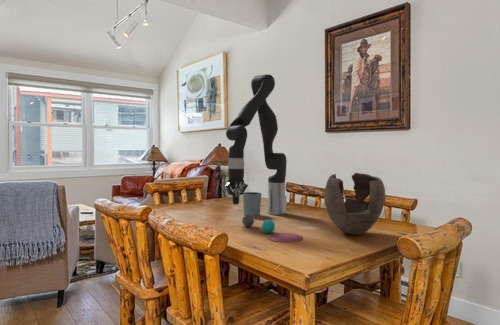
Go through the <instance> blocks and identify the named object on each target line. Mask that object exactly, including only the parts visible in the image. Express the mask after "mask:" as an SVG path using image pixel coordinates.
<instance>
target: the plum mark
mask: <svg viewBox="0 0 500 325" xmlns="http://www.w3.org/2000/svg"><path fill="white" fill-rule="evenodd" d="M267 239H268V240H270V241H272V242H278V243H296V242H300V241H302V240H303V236H302V235H300V234H296V233H292V232H291V233H290V232H276V233H269V234H268V235H267Z"/></svg>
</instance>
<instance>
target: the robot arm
mask: <svg viewBox="0 0 500 325" xmlns="http://www.w3.org/2000/svg"><path fill="white" fill-rule="evenodd" d="M250 85H251V86H250V87H251V91H252V92H251V93H252V94H253V96H252V97H251V98H250V99H249V100H248V101H247V102H246V103H245V104H244V105H243V106H242V108H241V110H240V111H239V113H238V114H237V117H235V119H234V120H232V122H231V123H230V124H229V125H228V127H227V128H226V131H225V136H226V138H227V140H229V141H232V142H234V143H233V145H231V146H229V148H228V165H227V168H228V169H227V170H228V171H227V173H228V174H227V176H228V180H227V183H226V184H224V185H223V187H224V189H225V191H226V192H227V194H228V195H229V196H232V204H233V205H235V206H236V205H239V203H240V196H243V193H245V192H246V189H247V188H248V187H249V186H248V183H247V184H246V183H245V180H244V177H245V159H244V158H245V151H244V150H245V146H246V143H247V139H248V130H247V128H246V127H248V126H249V125H250V124H251V123H252V121H253V119H254V117H255V115H256V113H257V115H258V116H257V117H258V122H259V126H260V127H259V128H260V133H261V138H262V144H263V145H262V146H263V153H264V163H265V167H266V168H267V169H268V170H274V171H276V173H274V174H273V175H271V176H268V178H267V180H268V181H267V182H268V184H267V186H268V187H267V189H268V190H267V198H268V199H267V210H268V211H267V214H268V215H278V216H279V215H284V214H287V195H286V177H287V161H288V160H287V156H286V154H285V153H283V152H274V150H273V145H274V140H275V138H276V136H277V134H278V131H279V126H278V121H277V120H278V119H277V115H276V113H274V111H273V109H272V108H271V107H270V105H269V104H268V101H267V99H268V97H269V96H270V95H271V94H272V92H273V90H274V89H275V86H276V80H275V77H273V75H271V74H259V75H258V74H257V75H254V76H253V77H252V79H251V81H250Z"/></svg>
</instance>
